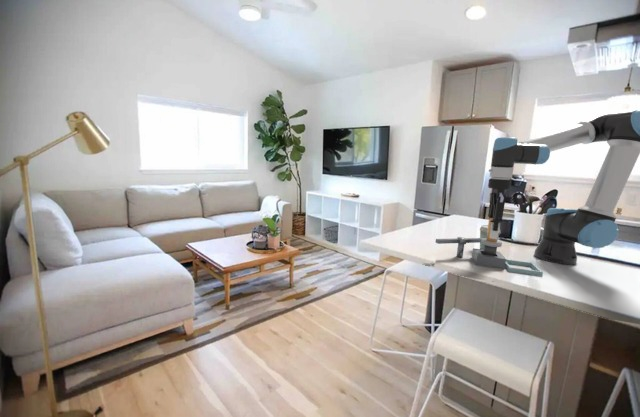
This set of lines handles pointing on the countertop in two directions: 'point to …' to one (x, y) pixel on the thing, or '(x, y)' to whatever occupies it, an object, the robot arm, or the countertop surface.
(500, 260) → the socket block
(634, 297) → the countertop surface
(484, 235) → the coffee cup
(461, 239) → the grey lever handle
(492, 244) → the tamper
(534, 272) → the tray
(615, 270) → the countertop surface
